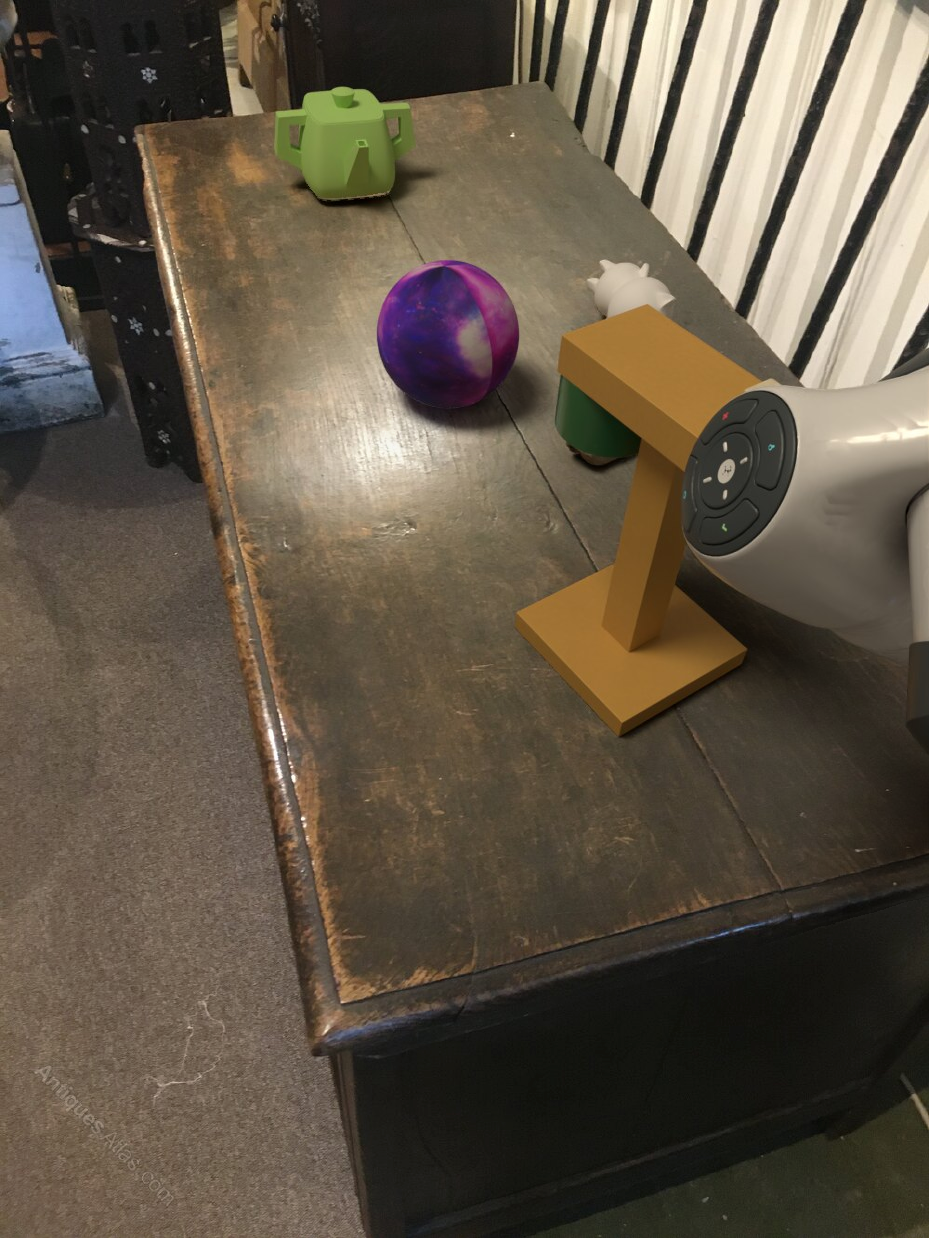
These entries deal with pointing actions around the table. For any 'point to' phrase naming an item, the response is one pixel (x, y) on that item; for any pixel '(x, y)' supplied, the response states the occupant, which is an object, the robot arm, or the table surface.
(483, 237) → the table surface
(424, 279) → the decorative orb
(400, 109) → the teapot
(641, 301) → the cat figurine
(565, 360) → the desk lamp
